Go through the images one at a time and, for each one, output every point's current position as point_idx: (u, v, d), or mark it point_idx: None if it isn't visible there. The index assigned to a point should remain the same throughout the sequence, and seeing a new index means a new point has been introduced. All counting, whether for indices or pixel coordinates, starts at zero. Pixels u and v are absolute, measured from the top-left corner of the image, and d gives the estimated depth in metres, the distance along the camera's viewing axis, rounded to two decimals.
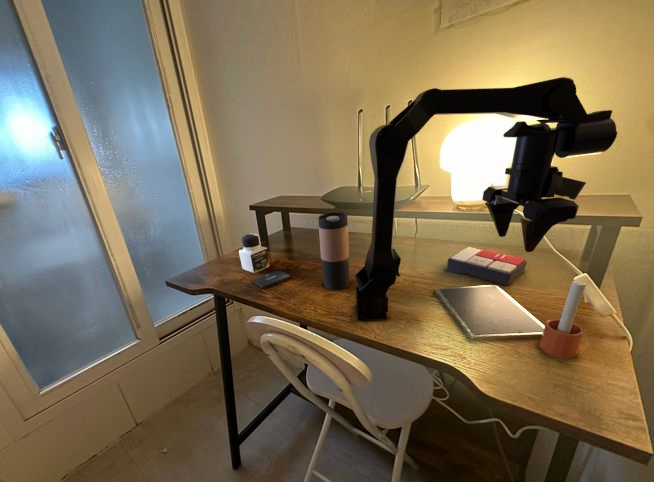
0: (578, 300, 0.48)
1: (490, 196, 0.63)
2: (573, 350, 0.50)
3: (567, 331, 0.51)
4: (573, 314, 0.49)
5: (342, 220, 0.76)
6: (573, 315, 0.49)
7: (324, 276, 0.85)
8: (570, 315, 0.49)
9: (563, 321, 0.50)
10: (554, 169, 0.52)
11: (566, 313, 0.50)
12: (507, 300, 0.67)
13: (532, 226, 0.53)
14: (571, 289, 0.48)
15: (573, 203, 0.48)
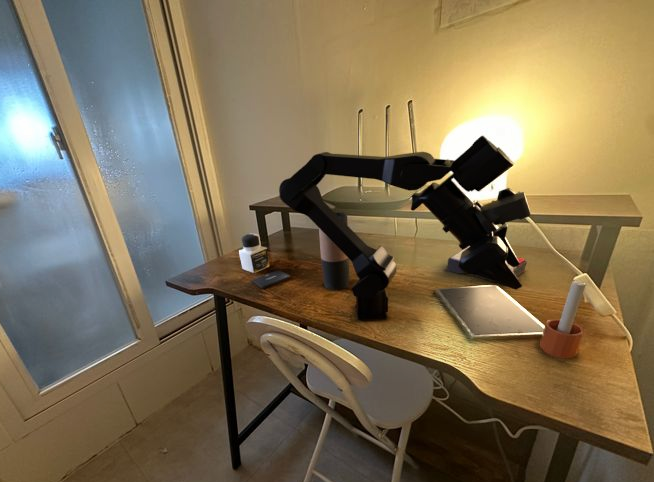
0: (578, 300, 0.48)
1: None
2: (573, 350, 0.50)
3: (567, 331, 0.51)
4: (573, 314, 0.49)
5: (342, 220, 0.76)
6: (573, 315, 0.49)
7: (324, 276, 0.85)
8: (570, 315, 0.49)
9: (563, 321, 0.50)
10: (472, 210, 0.50)
11: (566, 313, 0.50)
12: (507, 300, 0.67)
13: (484, 271, 0.49)
14: (571, 289, 0.48)
15: (487, 245, 0.45)
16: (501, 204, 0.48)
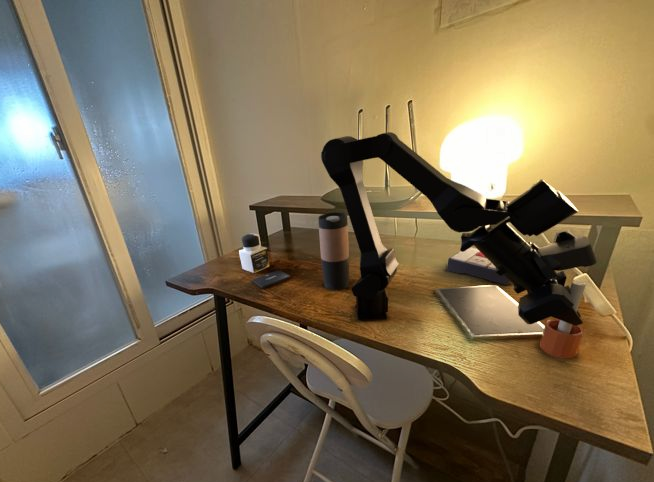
0: (578, 300, 0.48)
1: None
2: (573, 350, 0.50)
3: (567, 331, 0.51)
4: None
5: (342, 220, 0.76)
6: None
7: (324, 276, 0.85)
8: None
9: (563, 321, 0.50)
10: (530, 255, 0.48)
11: None
12: (507, 300, 0.67)
13: None
14: (571, 289, 0.48)
15: (552, 296, 0.43)
16: (563, 250, 0.46)
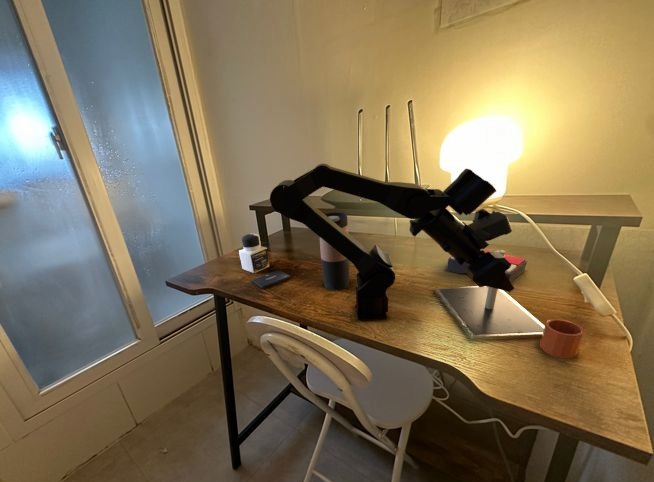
0: None
1: None
2: (573, 350, 0.50)
3: (496, 291, 0.63)
4: None
5: (342, 220, 0.76)
6: None
7: (324, 276, 0.85)
8: None
9: None
10: (467, 230, 0.57)
11: None
12: (507, 300, 0.67)
13: None
14: None
15: (496, 260, 0.52)
16: (489, 224, 0.57)
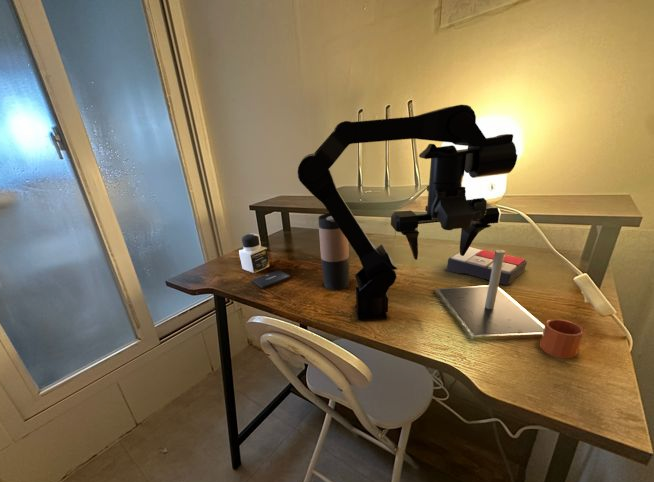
0: (501, 265, 0.60)
1: None
2: (573, 350, 0.50)
3: (496, 291, 0.63)
4: (499, 277, 0.62)
5: None
6: (499, 277, 0.62)
7: (324, 276, 0.85)
8: (497, 278, 0.62)
9: (493, 284, 0.62)
10: (436, 192, 0.56)
11: (494, 277, 0.62)
12: (507, 300, 0.67)
13: None
14: (496, 257, 0.60)
15: (397, 218, 0.59)
16: (445, 206, 0.54)
